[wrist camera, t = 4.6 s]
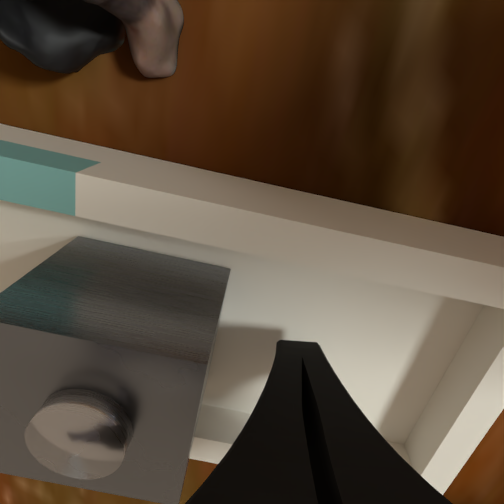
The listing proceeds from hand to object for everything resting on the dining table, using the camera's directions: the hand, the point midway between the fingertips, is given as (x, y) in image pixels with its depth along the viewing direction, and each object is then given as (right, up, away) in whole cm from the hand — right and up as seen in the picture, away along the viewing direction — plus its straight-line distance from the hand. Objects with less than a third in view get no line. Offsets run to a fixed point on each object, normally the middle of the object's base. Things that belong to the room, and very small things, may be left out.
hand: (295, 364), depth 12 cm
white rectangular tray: (-4, +1, +3) cm, 5 cm away
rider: (-5, +2, +1) cm, 5 cm away
